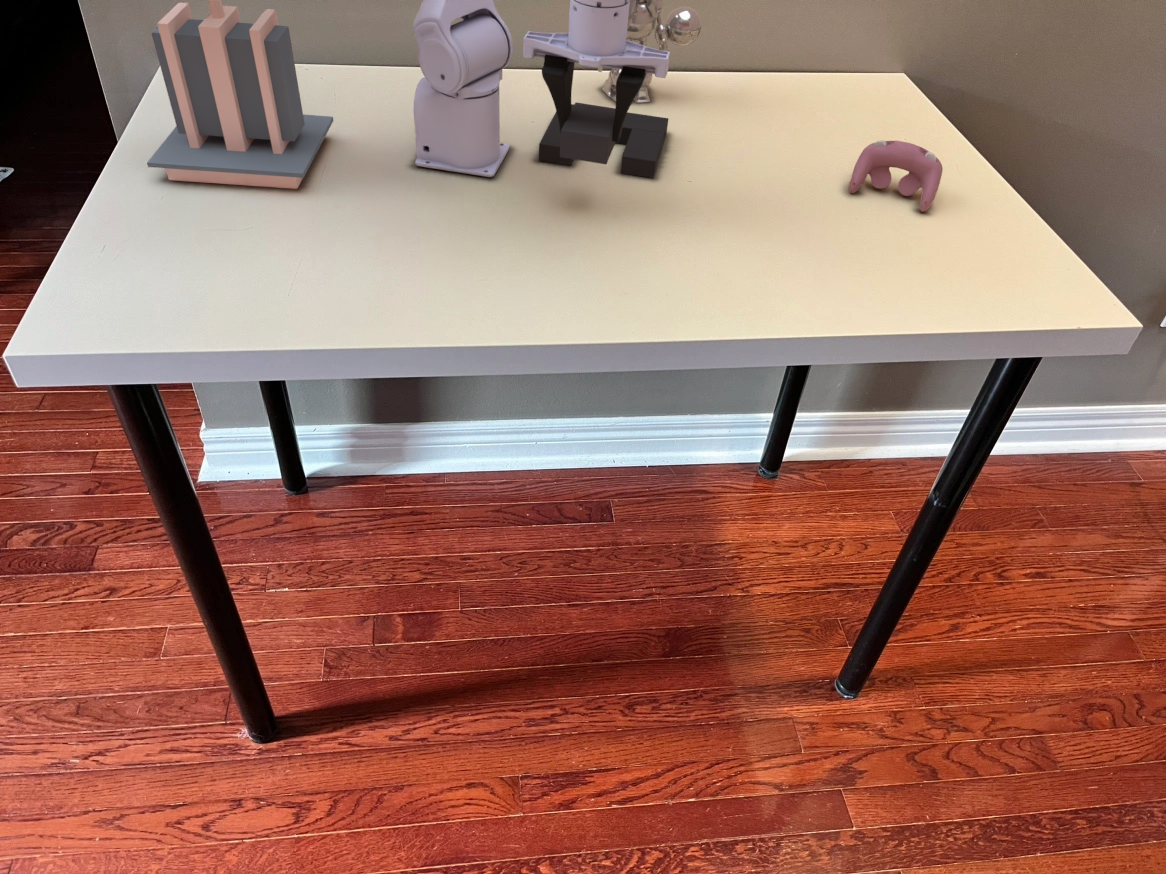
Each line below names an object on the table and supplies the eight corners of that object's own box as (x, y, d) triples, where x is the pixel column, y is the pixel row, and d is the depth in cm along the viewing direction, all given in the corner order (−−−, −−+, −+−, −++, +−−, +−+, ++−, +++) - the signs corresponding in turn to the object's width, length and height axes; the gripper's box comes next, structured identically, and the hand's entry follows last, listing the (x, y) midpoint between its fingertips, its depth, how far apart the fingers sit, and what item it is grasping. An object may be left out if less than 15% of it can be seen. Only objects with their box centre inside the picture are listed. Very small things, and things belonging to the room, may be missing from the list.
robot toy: (682, 82, 125) (698, -32, 114) (697, 101, 121) (715, -16, 110) (582, 87, 122) (589, -30, 111) (594, 106, 117) (602, -14, 107)
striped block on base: (342, 137, 107) (298, -188, 84) (313, 195, 97) (254, -157, 74) (190, 126, 107) (105, -204, 84) (146, 183, 96) (34, -174, 74)
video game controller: (928, 213, 105) (950, 154, 103) (929, 213, 101) (952, 151, 99) (847, 192, 108) (867, 133, 106) (844, 191, 104) (865, 130, 102)
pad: (559, 157, 92) (561, 129, 90) (573, 128, 97) (575, 102, 95) (606, 164, 92) (608, 137, 89) (618, 135, 96) (621, 109, 94)
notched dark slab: (538, 161, 106) (539, 143, 104) (559, 119, 114) (560, 102, 113) (653, 178, 104) (655, 161, 103) (666, 134, 113) (668, 118, 111)
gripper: (515, 0, 82) (514, 139, 91) (669, 22, 80) (652, 161, 90) (534, -23, 87) (531, 111, 96) (679, -3, 85) (661, 131, 95)
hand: (590, 133), depth 93 cm, fingers closed on pad, 5 cm apart
